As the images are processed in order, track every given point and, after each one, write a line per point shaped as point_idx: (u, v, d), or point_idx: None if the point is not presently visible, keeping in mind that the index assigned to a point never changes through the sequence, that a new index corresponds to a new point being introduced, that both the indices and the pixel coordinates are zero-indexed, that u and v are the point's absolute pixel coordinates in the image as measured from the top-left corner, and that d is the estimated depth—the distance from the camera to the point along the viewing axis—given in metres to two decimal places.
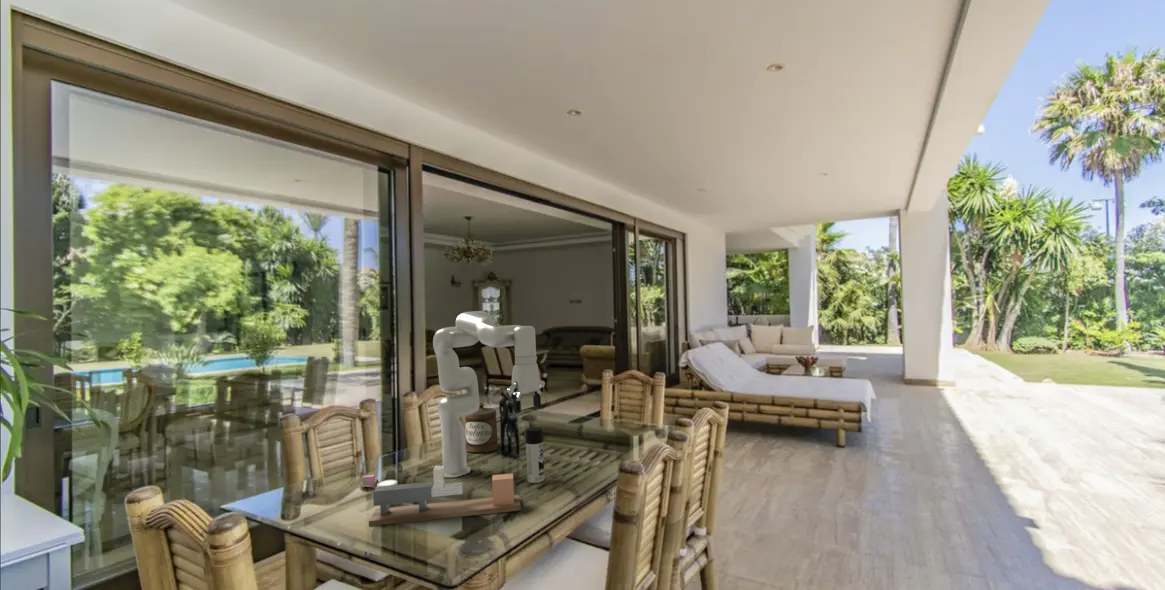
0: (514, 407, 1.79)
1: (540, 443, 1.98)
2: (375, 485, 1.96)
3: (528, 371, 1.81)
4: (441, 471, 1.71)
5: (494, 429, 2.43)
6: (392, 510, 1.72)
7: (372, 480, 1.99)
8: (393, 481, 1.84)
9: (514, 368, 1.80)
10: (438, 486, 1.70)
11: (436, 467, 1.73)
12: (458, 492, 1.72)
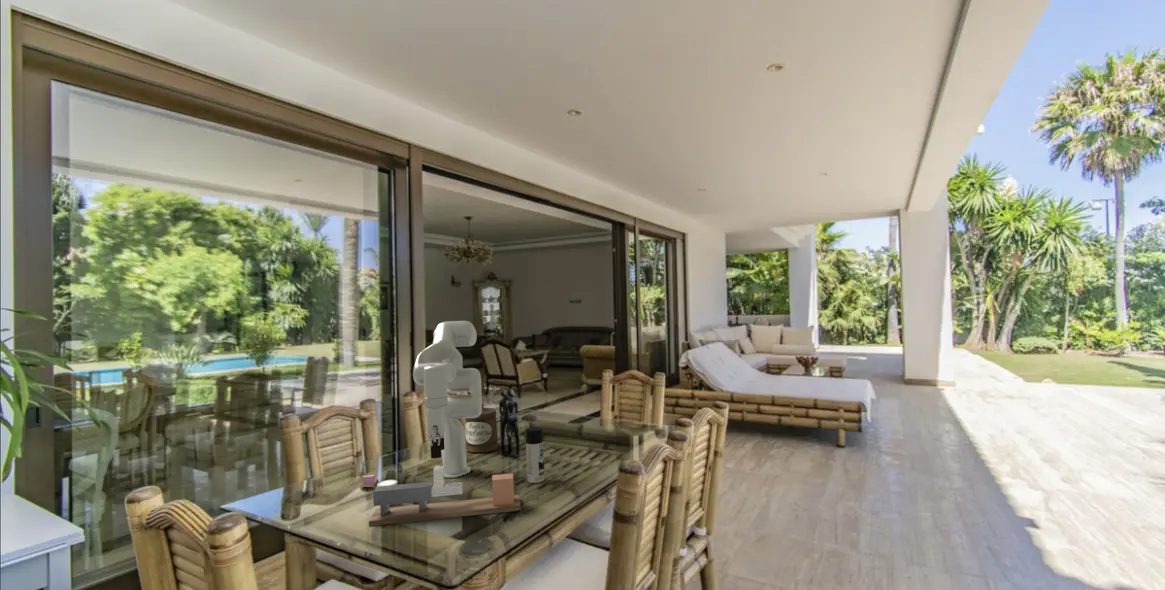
0: (435, 453, 1.66)
1: (540, 443, 1.98)
2: (375, 485, 1.96)
3: (443, 412, 1.72)
4: (441, 471, 1.71)
5: (494, 429, 2.43)
6: (392, 510, 1.72)
7: (372, 480, 1.99)
8: (393, 481, 1.84)
9: (431, 411, 1.68)
10: (438, 486, 1.70)
11: (436, 467, 1.73)
12: (458, 492, 1.72)
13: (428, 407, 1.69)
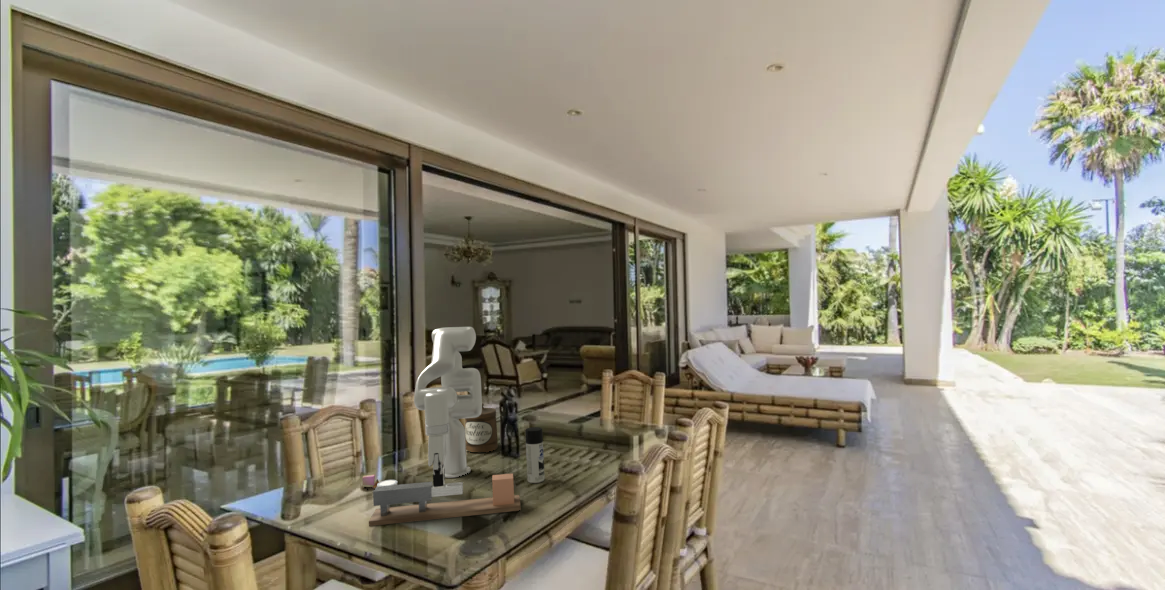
0: (437, 482, 1.69)
1: (540, 443, 1.98)
2: (375, 485, 1.96)
3: (444, 439, 1.72)
4: None
5: (494, 429, 2.43)
6: (392, 510, 1.72)
7: (372, 480, 1.99)
8: (393, 481, 1.84)
9: (432, 439, 1.68)
10: None
11: None
12: (458, 492, 1.72)
13: (429, 434, 1.69)
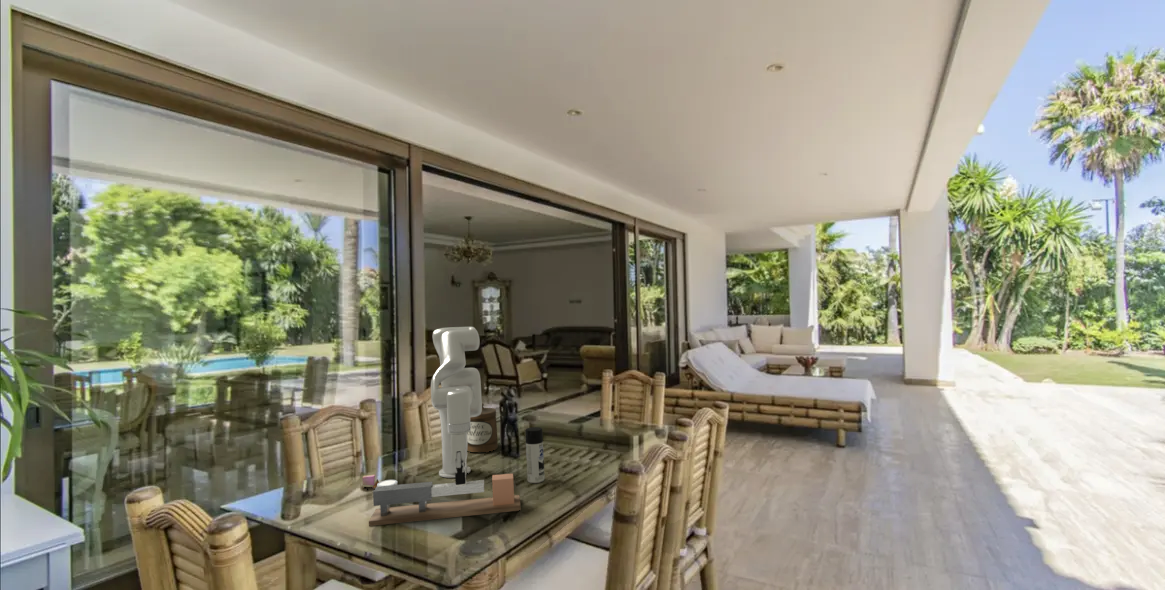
0: (459, 480, 1.70)
1: (540, 443, 1.98)
2: (375, 485, 1.96)
3: (466, 437, 1.73)
4: None
5: (494, 429, 2.43)
6: (392, 510, 1.72)
7: (372, 480, 1.99)
8: (393, 481, 1.84)
9: (455, 437, 1.69)
10: None
11: None
12: (480, 490, 1.73)
13: (451, 433, 1.70)
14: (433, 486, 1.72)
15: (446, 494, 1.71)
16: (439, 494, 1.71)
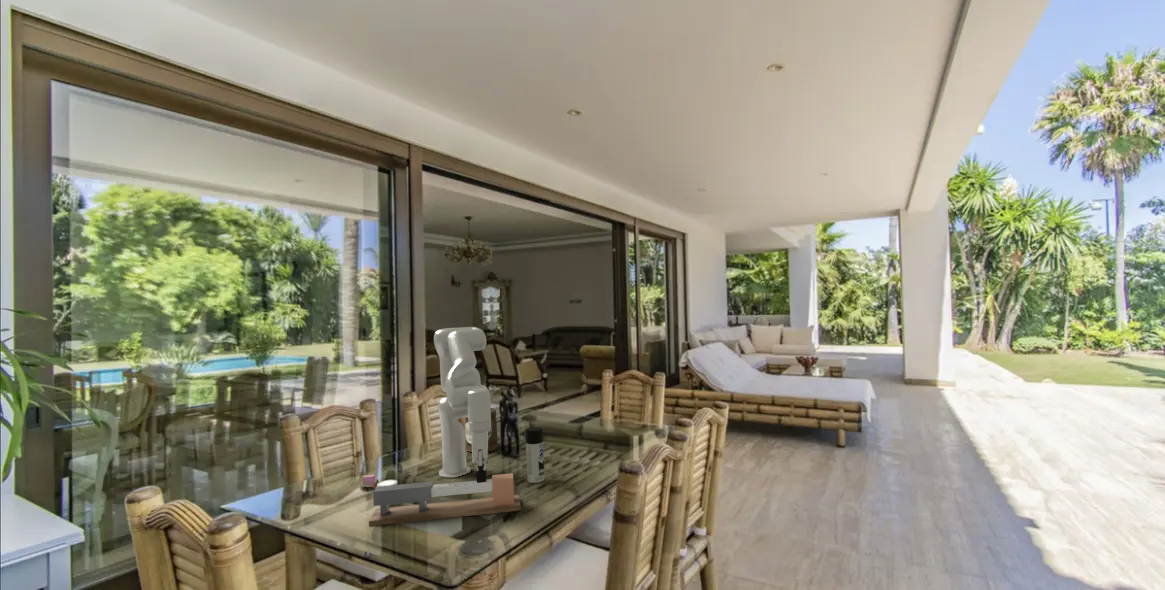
0: (480, 478, 1.71)
1: (540, 443, 1.98)
2: (375, 485, 1.96)
3: (487, 436, 1.74)
4: None
5: (494, 429, 2.43)
6: (392, 510, 1.72)
7: (372, 480, 1.99)
8: (393, 481, 1.84)
9: (476, 435, 1.70)
10: None
11: None
12: None
13: (473, 431, 1.71)
14: (454, 484, 1.73)
15: (467, 492, 1.72)
16: (460, 492, 1.72)
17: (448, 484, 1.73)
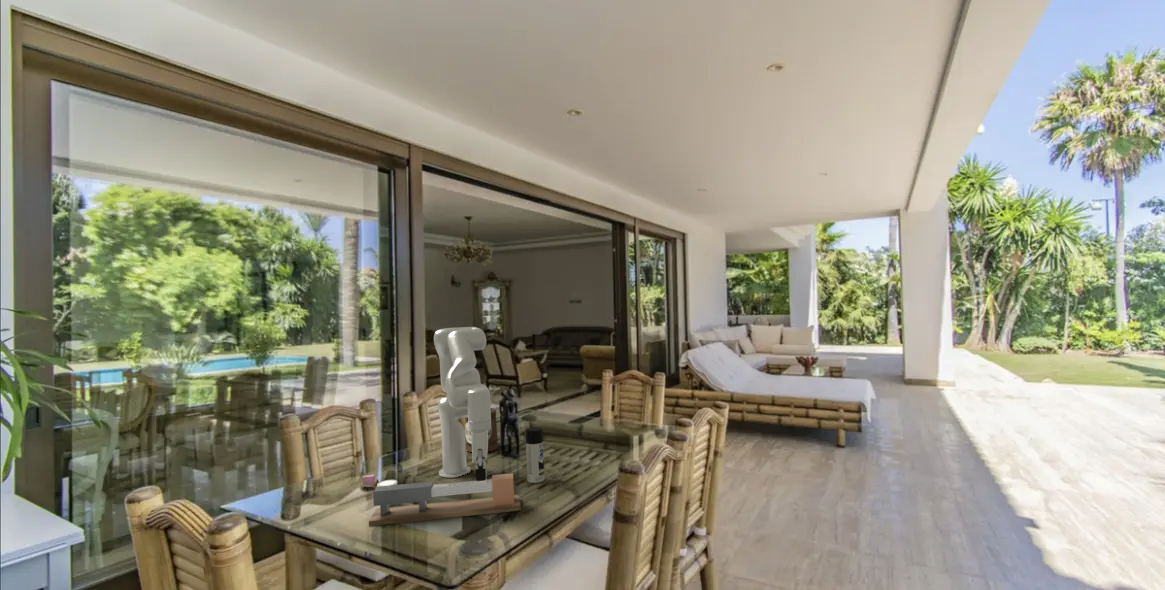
0: (480, 476, 1.69)
1: (540, 443, 1.98)
2: (375, 485, 1.96)
3: (487, 435, 1.74)
4: None
5: (494, 429, 2.43)
6: (392, 510, 1.72)
7: (372, 480, 1.99)
8: (393, 481, 1.84)
9: (476, 435, 1.70)
10: (481, 482, 1.73)
11: None
12: None
13: (473, 430, 1.71)
14: (454, 484, 1.73)
15: (468, 492, 1.72)
16: (460, 492, 1.72)
17: (448, 484, 1.73)
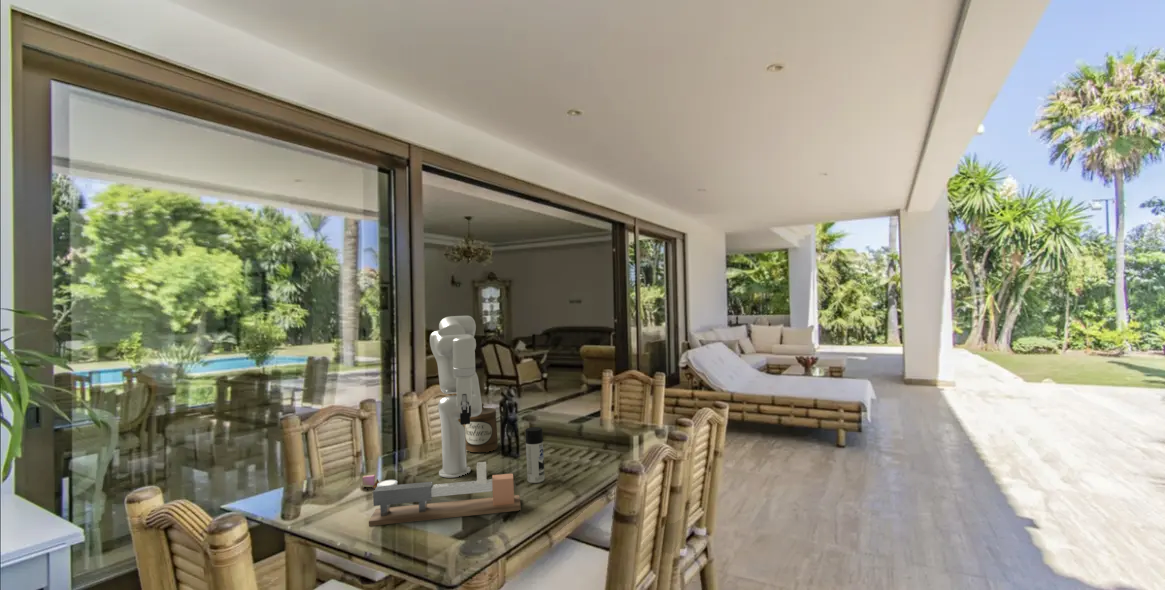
0: (464, 420, 1.76)
1: (540, 443, 1.98)
2: (375, 485, 1.96)
3: (471, 382, 1.81)
4: (484, 467, 1.73)
5: (494, 429, 2.43)
6: (392, 510, 1.72)
7: (372, 480, 1.99)
8: (393, 481, 1.84)
9: (461, 380, 1.77)
10: (481, 482, 1.73)
11: (479, 463, 1.75)
12: None
13: (457, 377, 1.78)
14: (454, 484, 1.73)
15: (468, 492, 1.72)
16: (460, 492, 1.72)
17: (448, 484, 1.73)
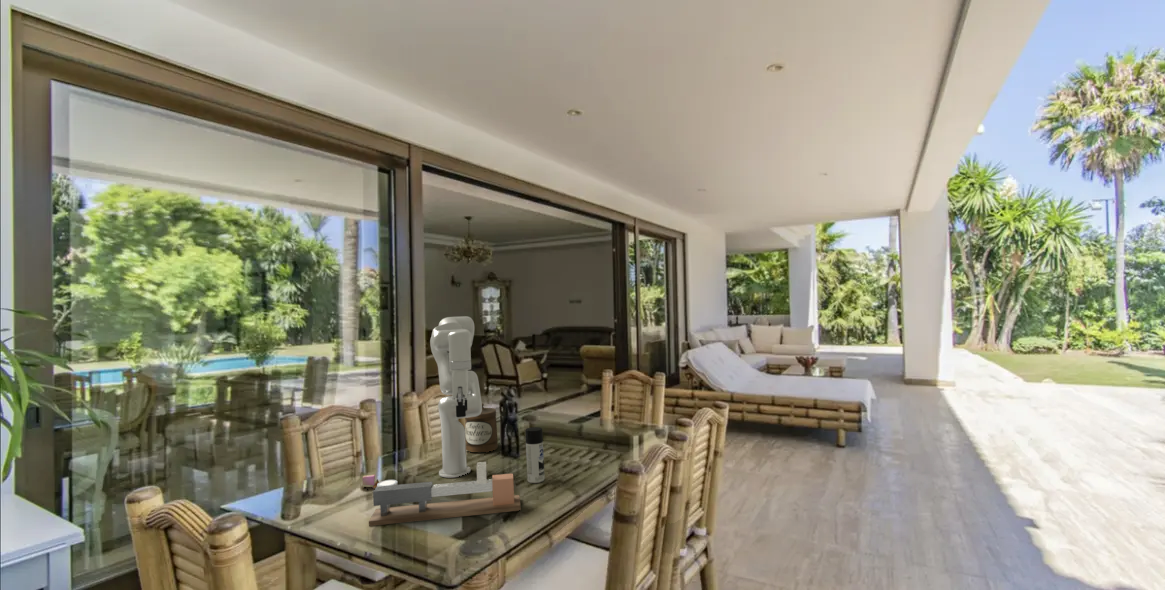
0: (460, 412, 1.78)
1: (540, 443, 1.98)
2: (375, 485, 1.96)
3: (467, 375, 1.83)
4: (484, 467, 1.73)
5: (494, 429, 2.43)
6: (392, 510, 1.72)
7: (372, 480, 1.99)
8: (393, 481, 1.84)
9: (456, 373, 1.79)
10: (481, 482, 1.73)
11: (479, 463, 1.75)
12: None
13: (453, 370, 1.80)
14: (454, 484, 1.73)
15: (468, 492, 1.72)
16: (460, 492, 1.72)
17: (448, 484, 1.73)
